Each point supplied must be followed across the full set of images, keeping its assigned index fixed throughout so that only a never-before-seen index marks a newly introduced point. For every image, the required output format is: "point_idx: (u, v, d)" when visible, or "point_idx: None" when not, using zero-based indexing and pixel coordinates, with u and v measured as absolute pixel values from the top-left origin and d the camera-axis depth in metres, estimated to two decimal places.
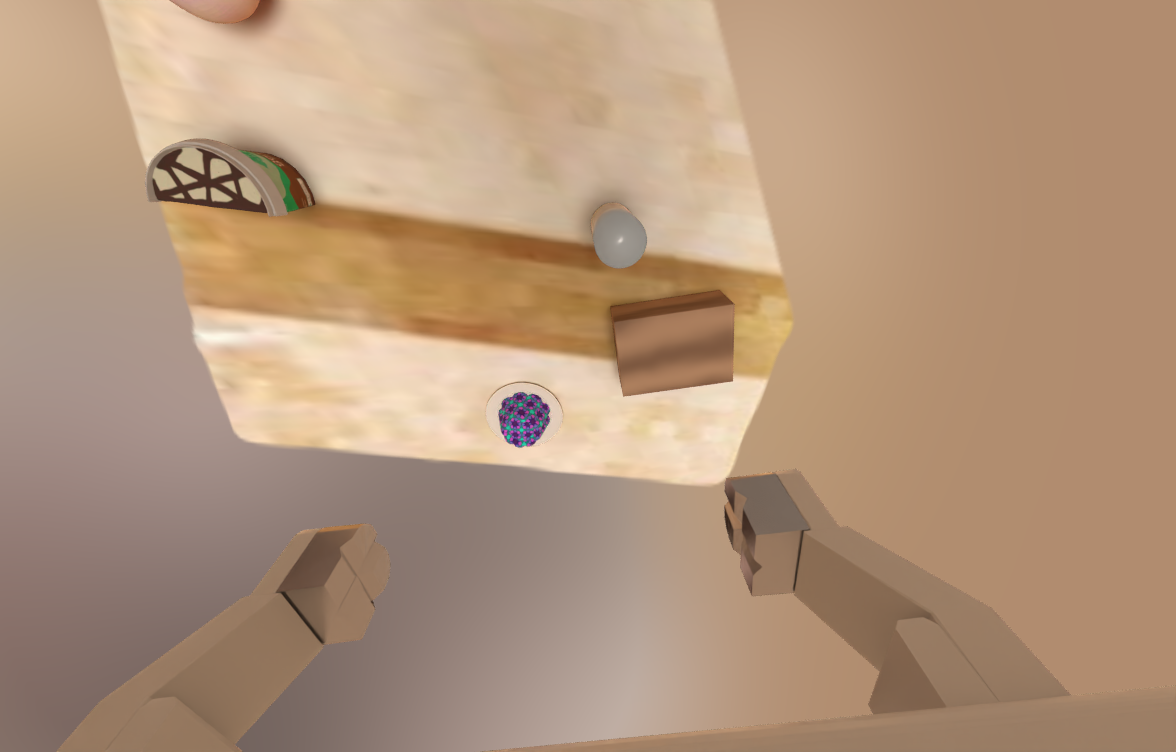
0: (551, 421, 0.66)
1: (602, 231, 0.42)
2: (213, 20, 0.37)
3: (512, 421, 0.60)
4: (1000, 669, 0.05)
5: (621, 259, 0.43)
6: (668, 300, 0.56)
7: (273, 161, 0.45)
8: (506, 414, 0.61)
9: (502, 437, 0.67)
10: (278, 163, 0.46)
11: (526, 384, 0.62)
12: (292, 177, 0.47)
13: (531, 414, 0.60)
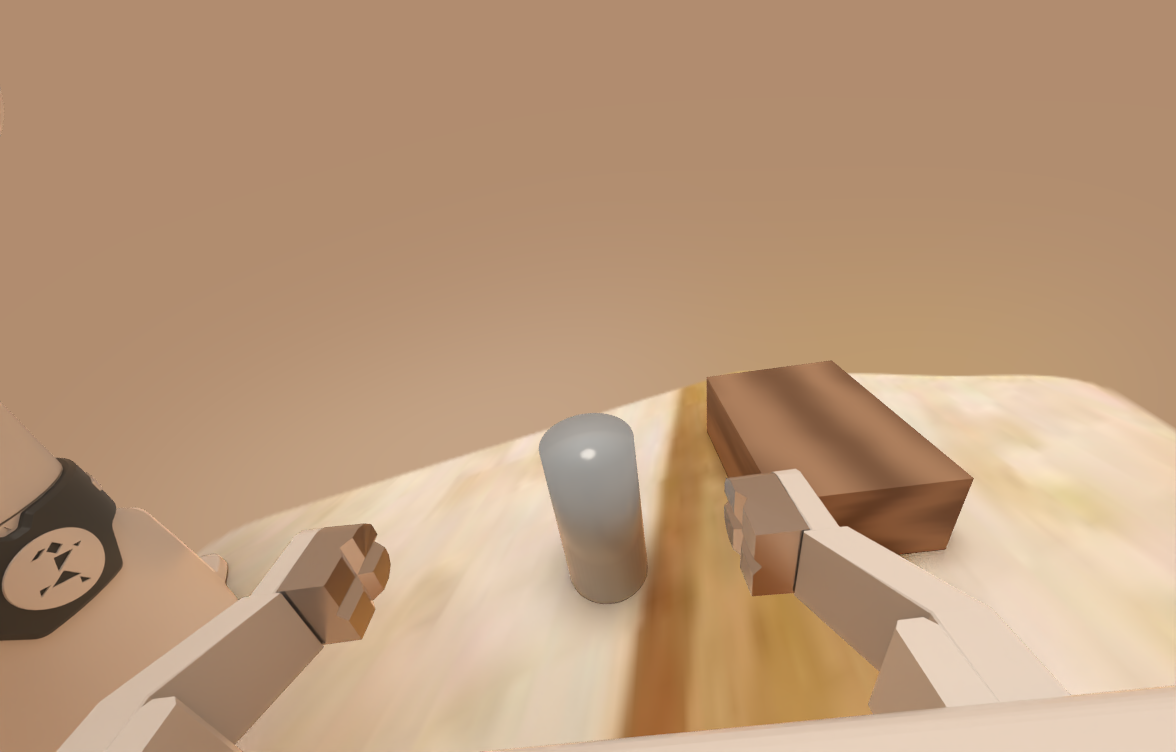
0: None
1: (563, 462, 0.22)
2: None
3: None
4: (1000, 669, 0.05)
5: (617, 437, 0.23)
6: (731, 472, 0.33)
7: None
8: None
9: None
10: None
11: None
12: None
13: None
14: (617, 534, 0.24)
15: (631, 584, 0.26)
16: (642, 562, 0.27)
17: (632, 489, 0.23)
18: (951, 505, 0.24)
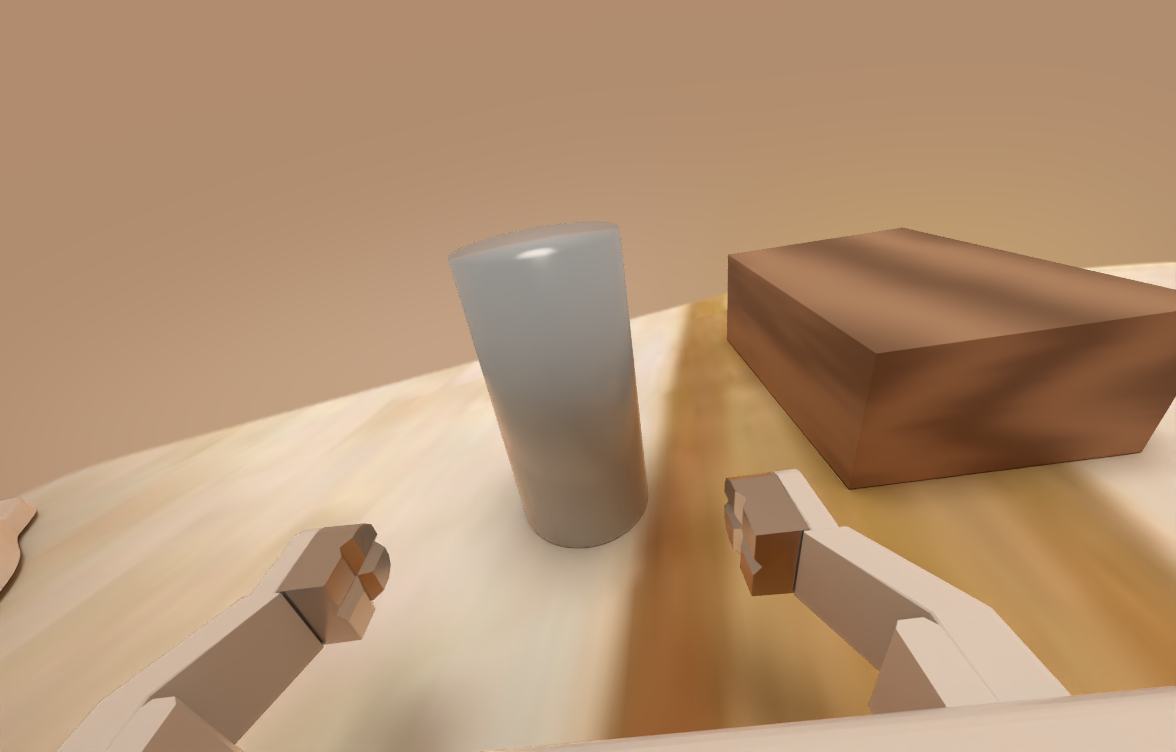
0: None
1: (484, 258, 0.12)
2: None
3: None
4: (1000, 669, 0.05)
5: (591, 231, 0.13)
6: (769, 371, 0.23)
7: None
8: None
9: None
10: None
11: None
12: None
13: None
14: (592, 409, 0.13)
15: (621, 514, 0.16)
16: (639, 479, 0.16)
17: (618, 327, 0.13)
18: None
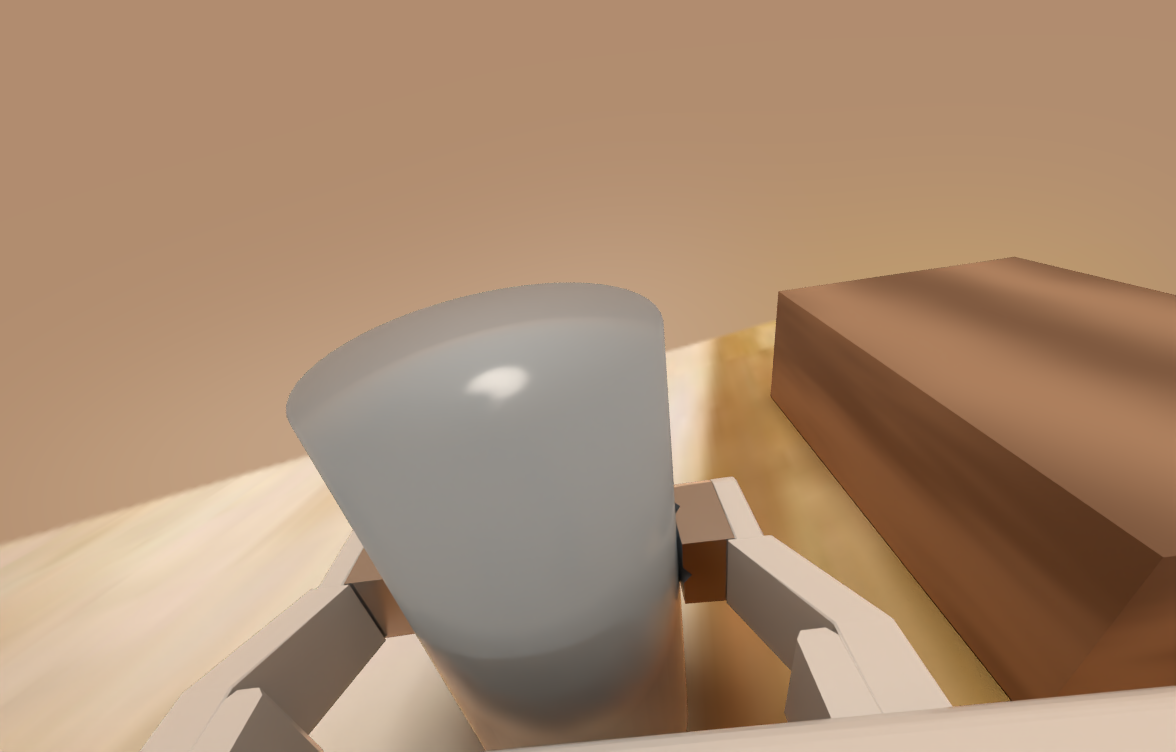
0: None
1: (355, 408, 0.05)
2: None
3: None
4: (889, 680, 0.05)
5: (602, 324, 0.06)
6: (849, 466, 0.16)
7: None
8: None
9: None
10: None
11: None
12: None
13: None
14: (603, 680, 0.06)
15: None
16: (679, 715, 0.09)
17: (658, 521, 0.06)
18: None
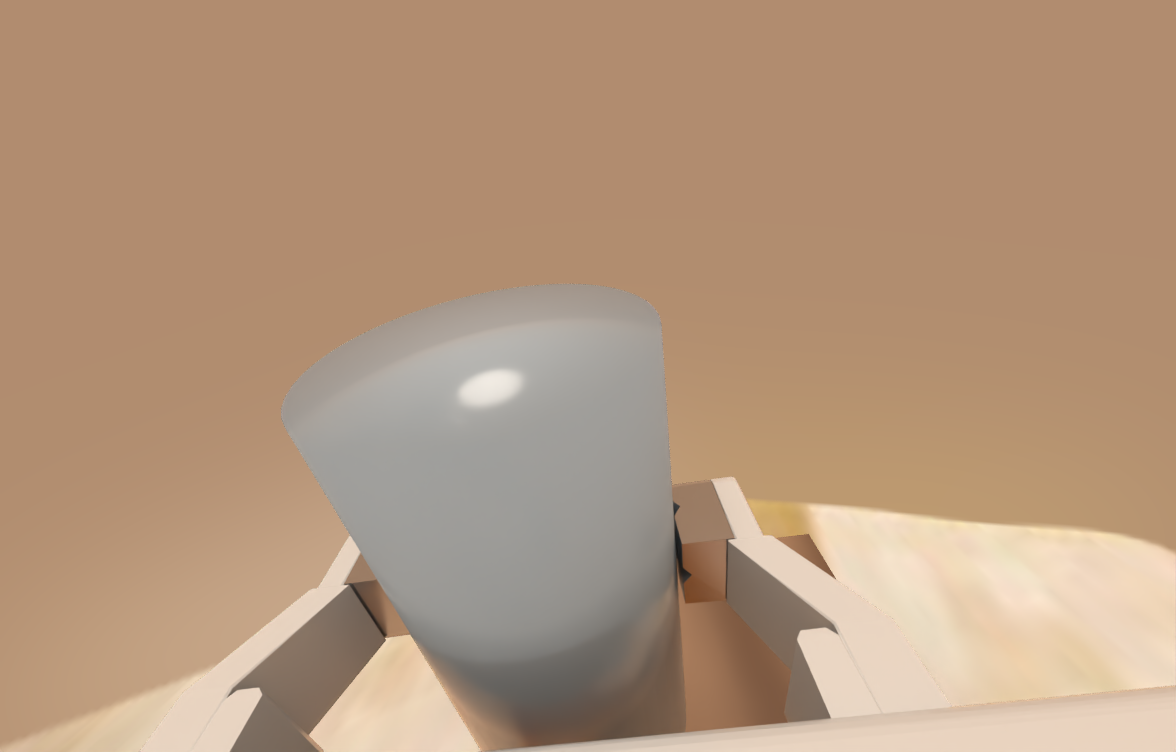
0: None
1: (351, 411, 0.05)
2: None
3: None
4: (889, 680, 0.05)
5: (600, 326, 0.06)
6: None
7: None
8: None
9: None
10: None
11: None
12: None
13: None
14: (601, 684, 0.06)
15: None
16: (678, 718, 0.09)
17: (656, 524, 0.06)
18: None
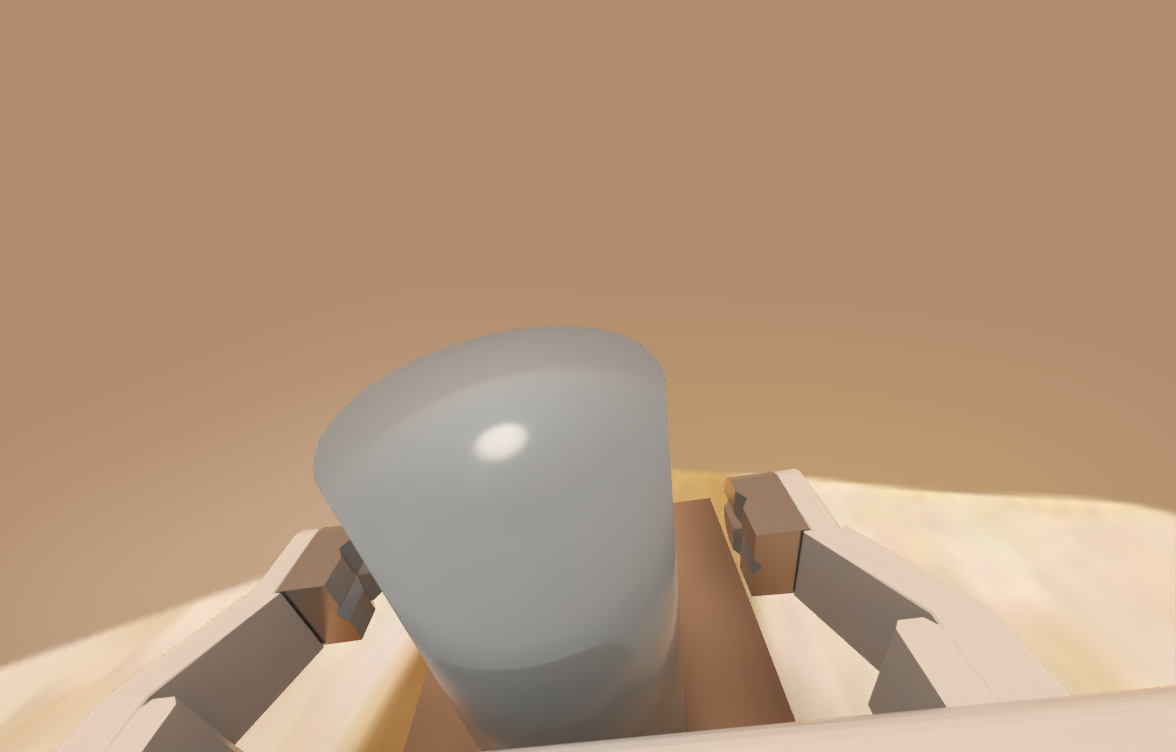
0: None
1: (378, 472, 0.05)
2: None
3: None
4: (1000, 669, 0.05)
5: (607, 381, 0.07)
6: None
7: None
8: None
9: None
10: None
11: None
12: None
13: None
14: (608, 713, 0.07)
15: None
16: None
17: (660, 565, 0.07)
18: None
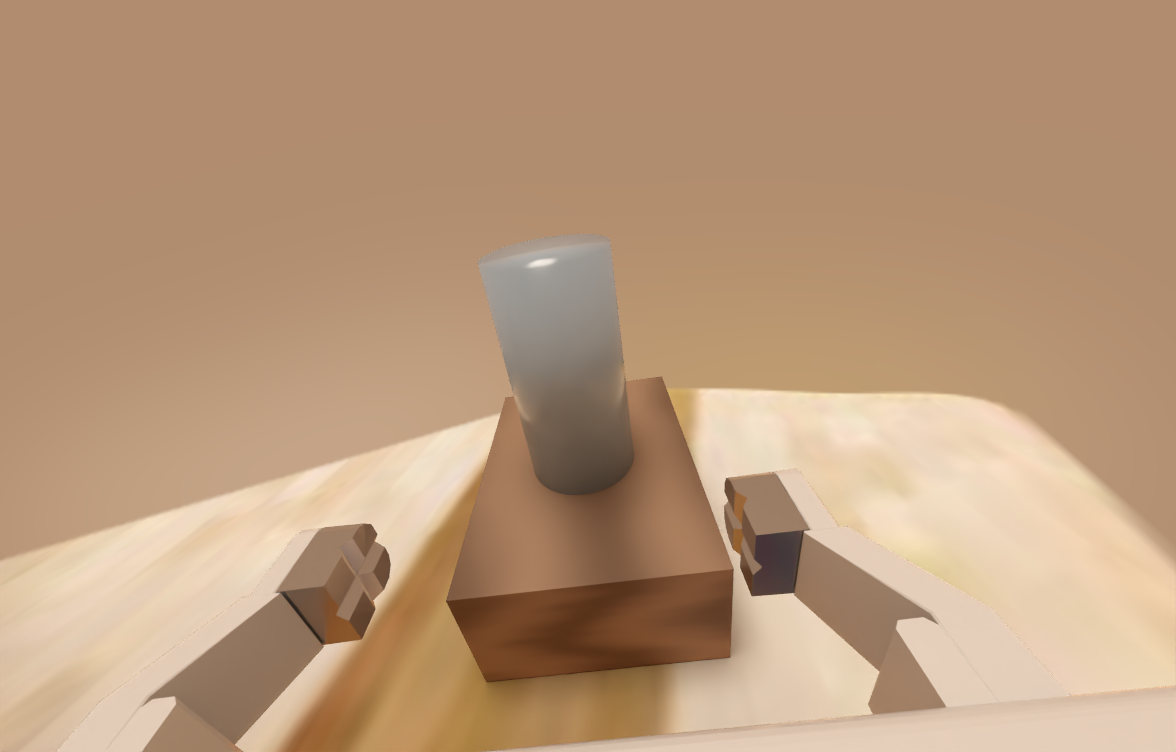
0: None
1: (508, 265, 0.15)
2: None
3: None
4: (1001, 669, 0.05)
5: (588, 244, 0.17)
6: None
7: None
8: None
9: None
10: None
11: None
12: None
13: None
14: (589, 381, 0.17)
15: (612, 467, 0.20)
16: (626, 440, 0.20)
17: (609, 317, 0.17)
18: (715, 604, 0.16)
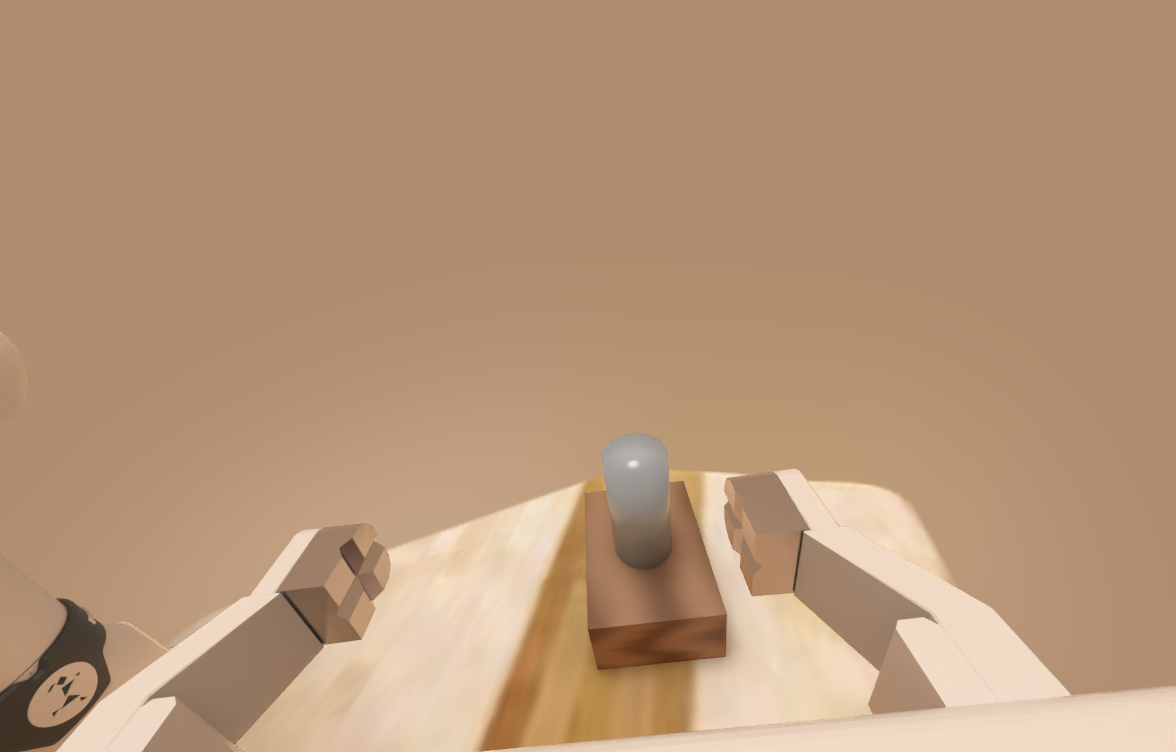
0: None
1: (622, 469, 0.33)
2: None
3: None
4: (1000, 669, 0.05)
5: (656, 451, 0.34)
6: None
7: None
8: None
9: None
10: None
11: None
12: None
13: None
14: (656, 517, 0.34)
15: (662, 554, 0.37)
16: (670, 538, 0.37)
17: (666, 487, 0.34)
18: (717, 630, 0.34)
